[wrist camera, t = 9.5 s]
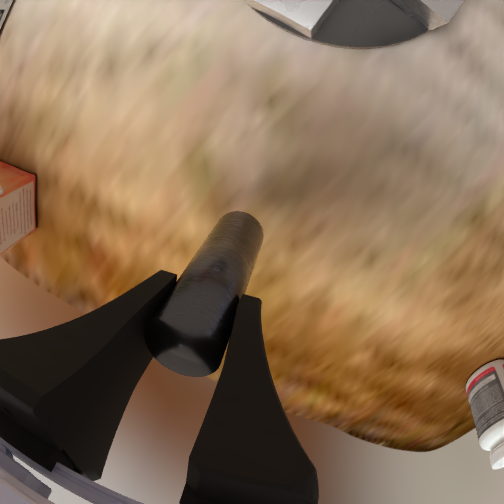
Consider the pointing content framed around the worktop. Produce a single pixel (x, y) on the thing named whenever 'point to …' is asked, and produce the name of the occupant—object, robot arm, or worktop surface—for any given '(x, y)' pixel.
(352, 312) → the worktop surface
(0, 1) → the tea box
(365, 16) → the dome plinth
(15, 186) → the cracker box
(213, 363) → the black pin
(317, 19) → the tabbed chrome dome
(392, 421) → the worktop surface
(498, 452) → the pill bottle
